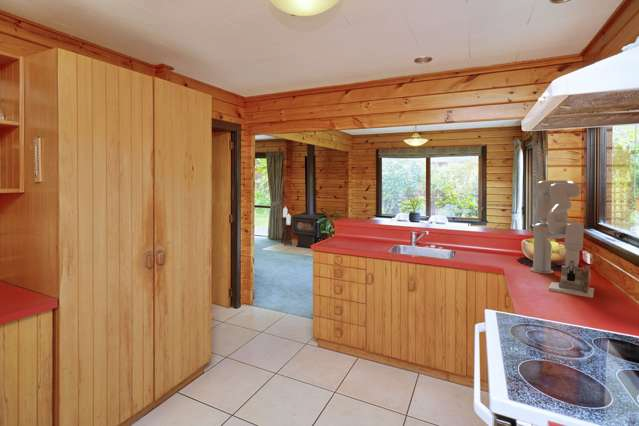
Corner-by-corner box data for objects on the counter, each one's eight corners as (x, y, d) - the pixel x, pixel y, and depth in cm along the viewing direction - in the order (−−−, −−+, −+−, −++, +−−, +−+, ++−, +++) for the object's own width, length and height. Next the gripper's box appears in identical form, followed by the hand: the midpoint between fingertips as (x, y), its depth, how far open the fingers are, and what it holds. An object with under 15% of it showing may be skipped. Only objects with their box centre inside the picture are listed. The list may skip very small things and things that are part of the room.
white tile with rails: (551, 284, 183) (552, 277, 183) (593, 291, 171) (594, 283, 171) (548, 290, 173) (548, 282, 172) (592, 297, 161) (593, 289, 160)
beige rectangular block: (561, 285, 176) (562, 265, 175) (582, 288, 170) (583, 268, 169) (560, 286, 174) (561, 266, 173) (582, 290, 168) (583, 269, 167)
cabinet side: (581, 286, 174) (582, 264, 173) (588, 287, 172) (589, 265, 171) (579, 292, 165) (580, 268, 164) (587, 293, 163) (588, 269, 162)
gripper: (566, 243, 179) (564, 274, 180) (562, 248, 166) (561, 281, 167) (583, 245, 174) (581, 276, 175) (581, 249, 161) (579, 283, 162)
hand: (571, 278), depth 171 cm, fingers open, 9 cm apart
